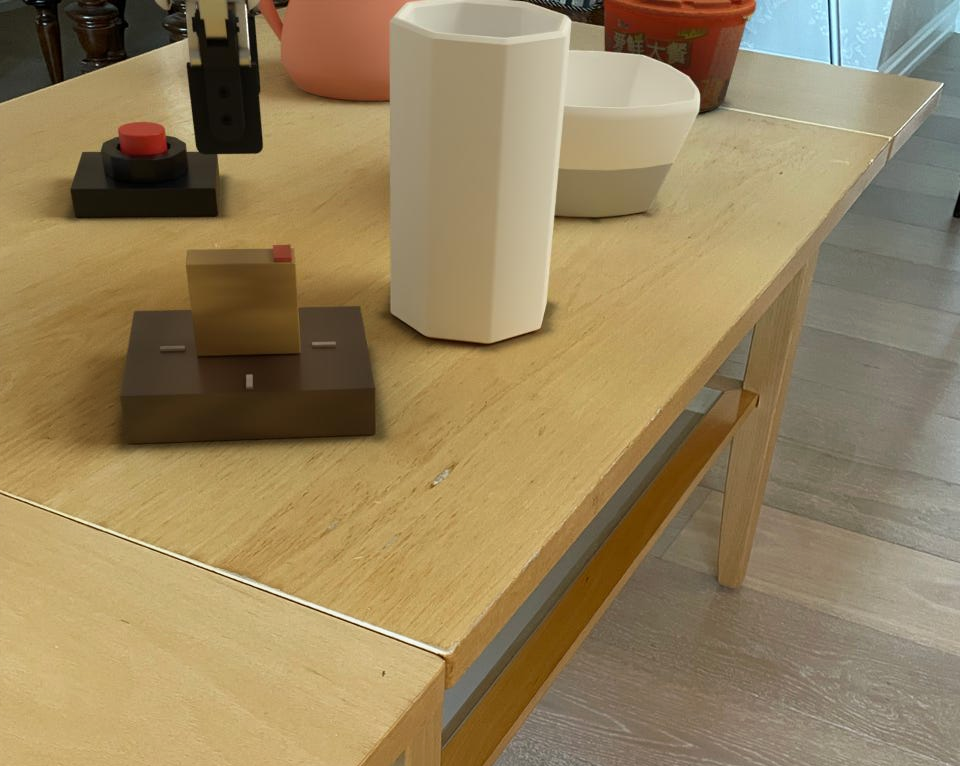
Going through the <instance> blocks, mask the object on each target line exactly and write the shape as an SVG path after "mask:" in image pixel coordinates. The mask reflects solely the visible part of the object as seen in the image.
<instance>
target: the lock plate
mask: <svg viewBox="0 0 960 766" xmlns="http://www.w3.org/2000/svg"><path fill="white" fill-rule="evenodd" d="M298 312H299V329H300V346H301V353H295V354H259V355H223V356H197V354H196V346H195V338H194V330H193V321H192V313H191V309H166V310H165V309H164V310H161V309H160V310H159V309H158V310H157V309H156V310H133V315H132V321H131V325H130V326H131V327H130V332H129V333H130V334H129V338H128V339H129V340H128V345H127V351H126V358H125V362H124V363H125V364H124V368H123V369H124V370H123V374H122V375H123V376H122V382H121V388H120V394H119V399H120V405H121V411H122V417H123V423H124V428H125V429H124V430H125V434H126V440H127V444H128V445H134V444H135V445H137V444H159V443H162V444H163V443H186V442H187V443H188V442H213V441H236V440H238V441H240V440H241V441H242V440H263V439H265V440H266V439H288V438H289V439H291V438H292V439H293V438H317V437H319V438H320V437H338V436H339V437H343V436H368V435H369V436H370V435H371V436H372V435H376V434H377V409H376V407H377V406H376V405H377V404H376V403H377V402H376V399H377V398H376V385H375V380H374V373H373V369H372V364H371V357H370V352H369V345H368V341H367V335H366V330H365V324H364V319H363V313H362V309H361V305H351V306H349V305H345V306H344V305H343V306H303V307H302V306H298Z"/></svg>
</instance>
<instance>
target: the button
mask: <svg viewBox="0 0 960 766" xmlns="http://www.w3.org/2000/svg"><path fill="white" fill-rule="evenodd" d="M117 133H118V137H119V141H120V148H121V152H122V153H127V154H132V155H152V154H158V153H162V152H164V151H166V150H167V142H166V136H167V134H166V128H165V126H164V125H162V124H160V123H157V122H152V121H151V122H150V121H134V122H129V123H125V124H122V125H120V126H119V127H118V128H117Z"/></svg>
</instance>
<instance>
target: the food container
mask: <svg viewBox="0 0 960 766" xmlns="http://www.w3.org/2000/svg"><path fill="white" fill-rule="evenodd" d="M603 6H604V7H603V9H604V10H603V11H604V13H603V16H604V17H603V18H604V21H603V23H604V24H603V25H604V29H603V30H604V31H603V32H604V33H603V34H604V35H603V36H604V39H603V40H604V52H616V53H627V54H638V55H644V56H647V57H650V58H652V59H655V60H658V61H660V62H663V63H665V64H668V65H670V66H672V67H673V68H675V69H677V70H678V71H680V72H682V73H684V74H685V75H687V76H689V77H690V79H691V80H692V81H693V83H694V84H695V85H696V87H697V88H698V90H699V93H700V107H699V112H698V114H699V113H703V112H706V111H707V112H708V111H712V110H714V109H717V108H719V107H720V106H721V105H723V103H724V102H725V100H726V96H727V93H728V89H729V85H730V82H731V78H732V74H733V71H734V67H735V64H736V62H737V61H736V60H737V56H738V54H739V50H740V46H741V42H742V40H743V36H744V31H745V29H746V25H747V22H749V21H751V19H752V18H753V15H754V13H755V12H756V9H757V1H756V0H603Z"/></svg>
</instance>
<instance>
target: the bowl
mask: <svg viewBox="0 0 960 766" xmlns="http://www.w3.org/2000/svg"><path fill="white" fill-rule="evenodd" d="M699 107H700V93H699V90H698V88H697V87H696V85H695V84H694V83H693V81H692V80H691V79H690V77H689V76H687V75H685V74H684V73H682V72H680V71H678V70H677V69H675V68H673V67H672V66H670V65H668V64H665V63H663V62H660V61H658V60H655V59H652V58H650V57H647V56H644V55H638V54H627V53H616V52H605V50H604V51H603V50H575V49H569V55H568V67H567V78H566V89H565V101H564V112H563V123H562V134H561V146H560V157H559V168H558V180H557V191H556V202H555V213H554V217H555V216H556V217H567V218H568V217H575V218H606V217H617V216H626V215H632V214H637V213H644V212H647V211H650V210H651V208H652V207H653V204H655V201H656V199H657V197H658V196H659V192H660V191H661V189H662V187H663V184H664V182H665V180H666V178H667V176H668V174H669V172H670V170H671V168H672V166H673V164H674V162H675V161H676V160H677V157H678V155H679V153H680V151H681V149H682V147H683V145H684V143H685V140H686V139H687V137H688V136H689V135H688V134H689V132H690V131H691V128H692V126H693V125H694V122H695V120H696V119H697V116H698V114H699V113H700V112H699ZM698 112H699V113H698Z"/></svg>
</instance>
